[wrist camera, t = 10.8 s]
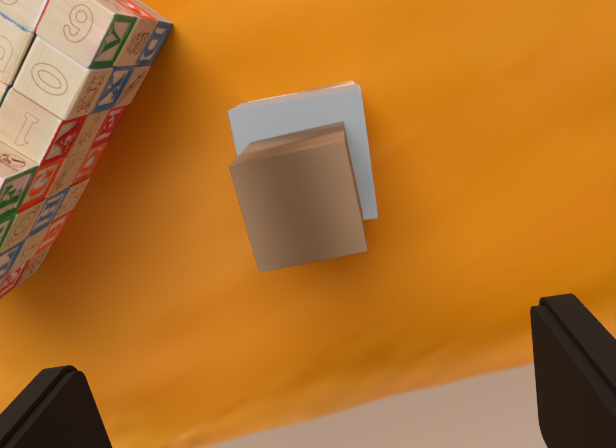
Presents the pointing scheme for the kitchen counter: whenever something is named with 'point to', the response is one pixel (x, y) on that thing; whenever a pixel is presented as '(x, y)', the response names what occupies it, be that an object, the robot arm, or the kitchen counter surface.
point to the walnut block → (300, 198)
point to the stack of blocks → (61, 110)
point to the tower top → (309, 114)
